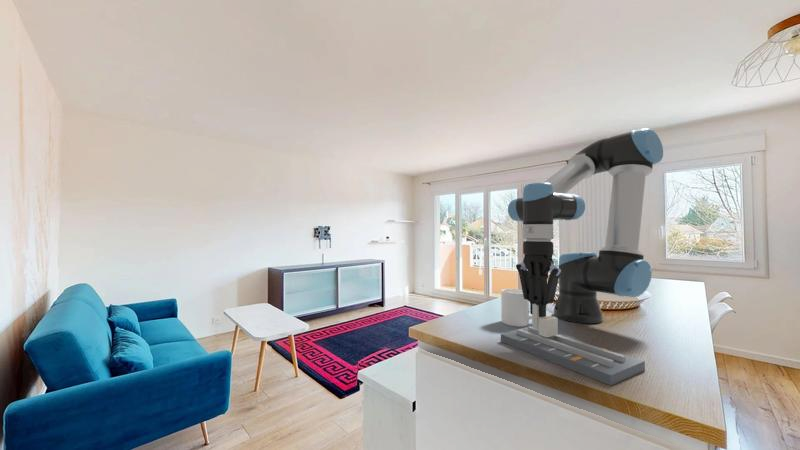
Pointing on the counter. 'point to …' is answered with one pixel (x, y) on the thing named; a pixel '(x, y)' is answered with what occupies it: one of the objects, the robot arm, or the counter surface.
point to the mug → (514, 308)
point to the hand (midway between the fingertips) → (538, 328)
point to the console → (576, 355)
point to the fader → (548, 327)
